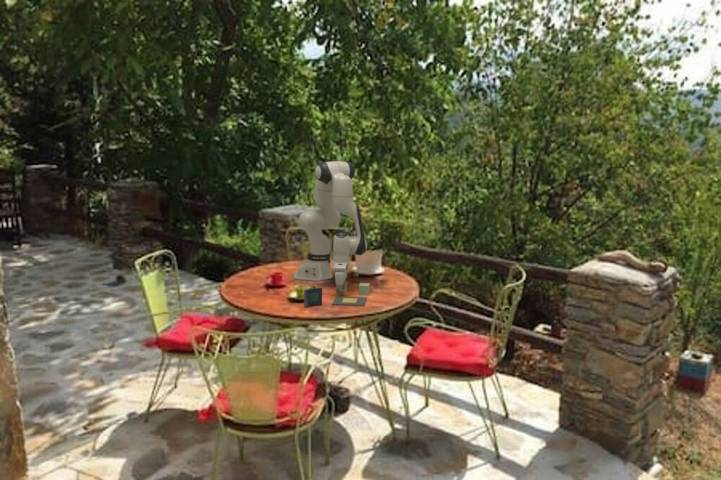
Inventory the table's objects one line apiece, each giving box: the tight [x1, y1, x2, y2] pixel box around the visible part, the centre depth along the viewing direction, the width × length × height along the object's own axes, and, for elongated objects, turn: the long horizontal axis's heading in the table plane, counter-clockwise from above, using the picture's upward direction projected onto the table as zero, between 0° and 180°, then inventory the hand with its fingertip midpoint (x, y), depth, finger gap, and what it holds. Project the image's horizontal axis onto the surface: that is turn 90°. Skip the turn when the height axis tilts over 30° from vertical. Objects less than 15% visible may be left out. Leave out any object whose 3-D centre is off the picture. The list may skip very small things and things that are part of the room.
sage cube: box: [358, 282, 370, 296], centre depth 305 cm, size 5×5×5 cm
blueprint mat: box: [331, 295, 368, 307], centre depth 291 cm, size 16×13×1 cm
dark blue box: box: [303, 283, 323, 308], centre depth 284 cm, size 9×3×11 cm, turn 117°
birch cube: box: [335, 282, 348, 295], centre depth 306 cm, size 5×5×5 cm
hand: (341, 289), depth 306 cm, fingers open, 6 cm apart
